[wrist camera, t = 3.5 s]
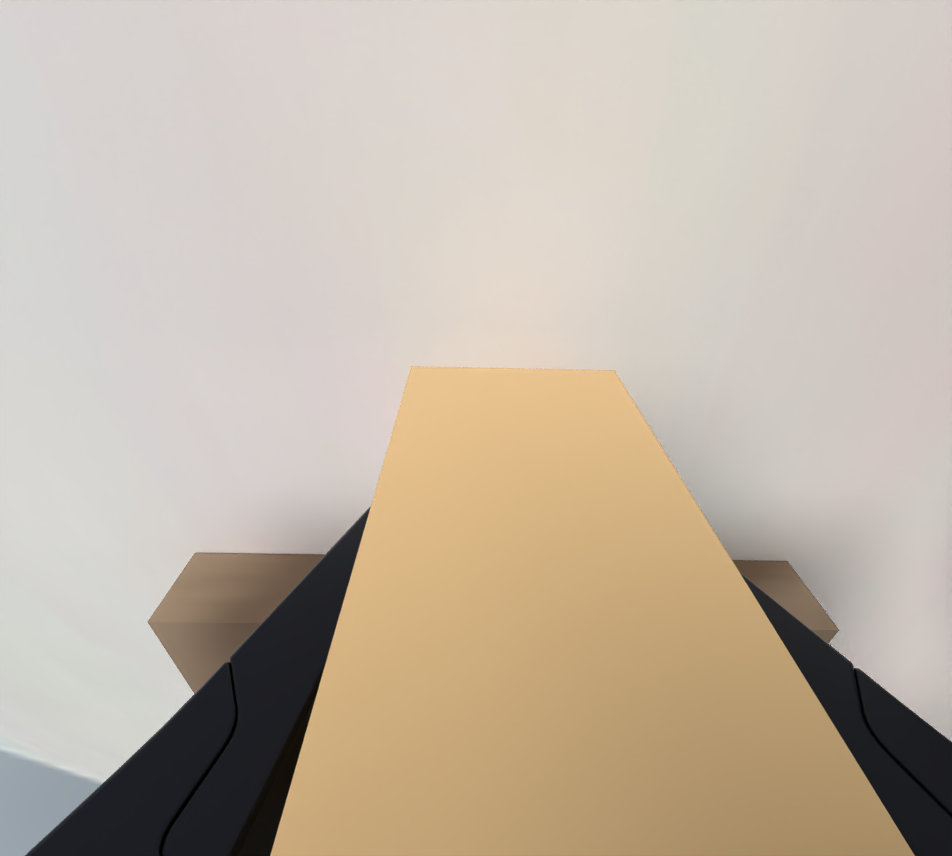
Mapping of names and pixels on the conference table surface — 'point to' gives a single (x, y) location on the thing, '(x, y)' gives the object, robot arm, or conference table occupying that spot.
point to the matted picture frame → (275, 575)
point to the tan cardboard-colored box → (559, 654)
